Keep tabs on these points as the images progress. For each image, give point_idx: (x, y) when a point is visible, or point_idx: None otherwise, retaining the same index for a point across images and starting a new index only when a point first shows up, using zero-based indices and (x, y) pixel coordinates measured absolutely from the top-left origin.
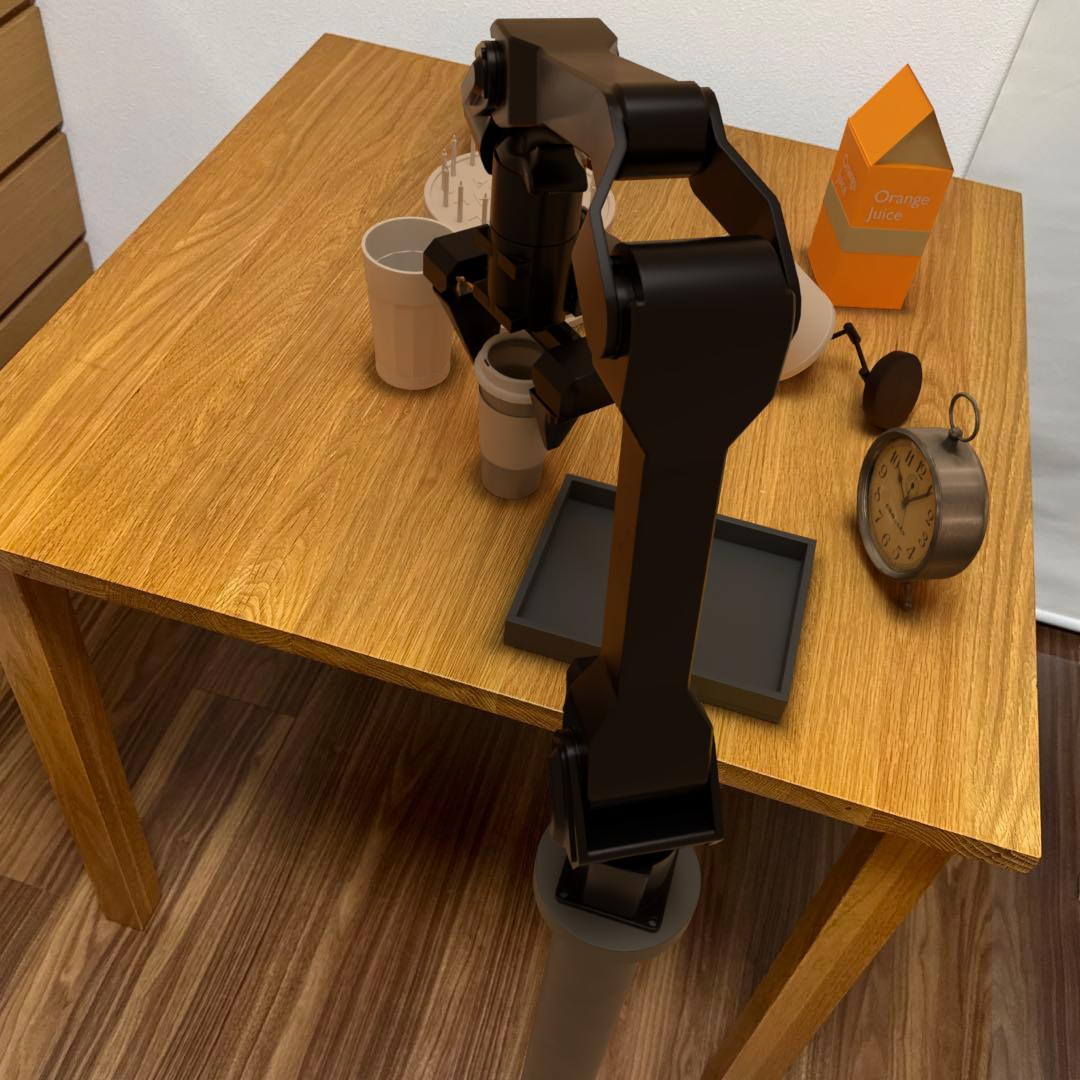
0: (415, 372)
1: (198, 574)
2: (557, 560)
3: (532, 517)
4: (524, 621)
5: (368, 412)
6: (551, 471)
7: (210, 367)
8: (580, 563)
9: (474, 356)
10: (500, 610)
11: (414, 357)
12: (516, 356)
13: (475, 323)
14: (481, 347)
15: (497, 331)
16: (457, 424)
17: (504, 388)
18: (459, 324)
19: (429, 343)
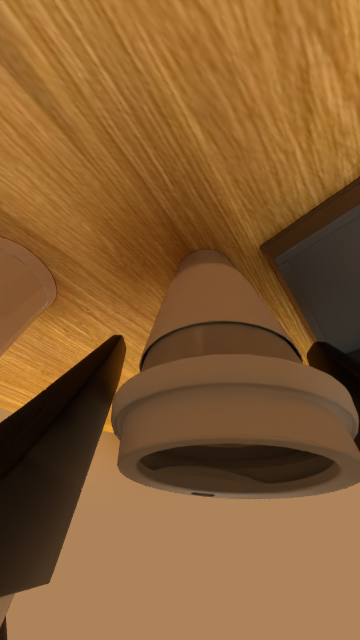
0: (42, 303)
1: None
2: (319, 306)
3: (257, 288)
4: None
5: (83, 331)
6: (220, 233)
7: (27, 377)
8: (341, 292)
9: (112, 396)
10: (303, 349)
11: (29, 317)
12: (143, 367)
13: (69, 476)
14: (102, 401)
15: (73, 407)
16: (114, 282)
17: (262, 473)
18: (77, 495)
19: (11, 315)
